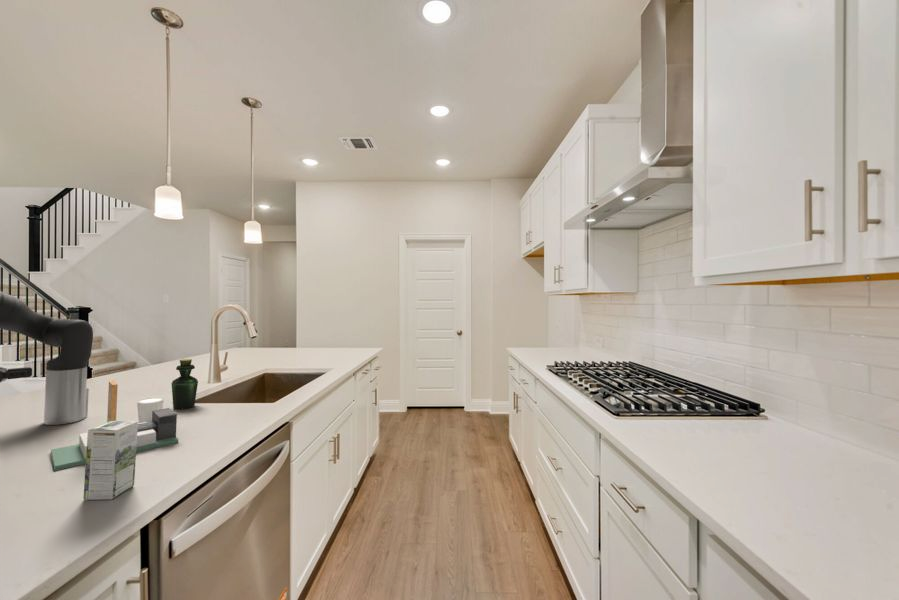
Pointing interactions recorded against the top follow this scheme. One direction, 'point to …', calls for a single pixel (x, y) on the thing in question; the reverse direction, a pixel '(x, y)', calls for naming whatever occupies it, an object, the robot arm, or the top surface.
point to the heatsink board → (77, 458)
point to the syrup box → (110, 460)
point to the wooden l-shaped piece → (113, 407)
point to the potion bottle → (184, 386)
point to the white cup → (148, 408)
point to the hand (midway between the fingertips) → (31, 371)
